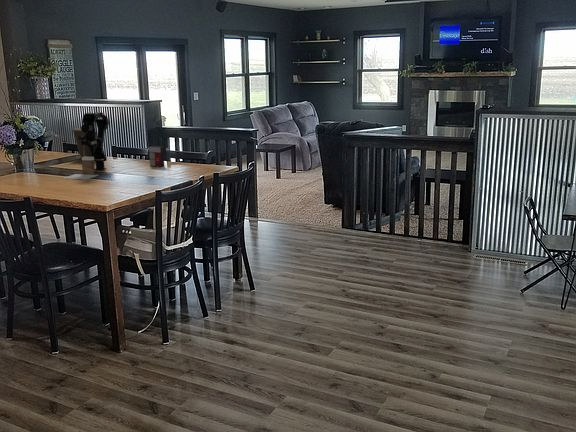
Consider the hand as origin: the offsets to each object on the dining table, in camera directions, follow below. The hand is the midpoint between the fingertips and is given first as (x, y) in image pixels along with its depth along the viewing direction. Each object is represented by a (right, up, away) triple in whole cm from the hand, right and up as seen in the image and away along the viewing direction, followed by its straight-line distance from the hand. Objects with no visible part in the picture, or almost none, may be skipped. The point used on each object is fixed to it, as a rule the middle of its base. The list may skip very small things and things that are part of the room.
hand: (92, 153), depth 408 cm
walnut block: (-1, -15, -6) cm, 16 cm away
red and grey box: (+39, -7, +27) cm, 48 cm away
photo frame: (-26, +1, +62) cm, 67 cm away
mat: (-3, -17, -16) cm, 24 cm away
